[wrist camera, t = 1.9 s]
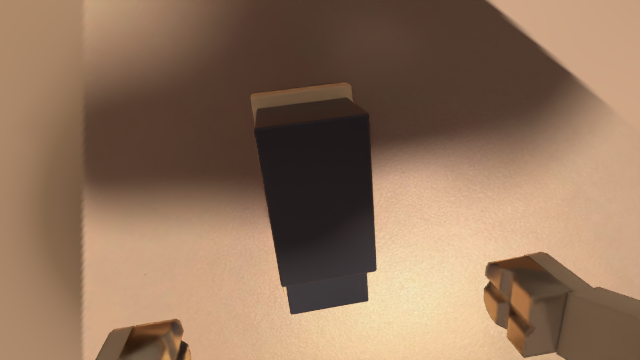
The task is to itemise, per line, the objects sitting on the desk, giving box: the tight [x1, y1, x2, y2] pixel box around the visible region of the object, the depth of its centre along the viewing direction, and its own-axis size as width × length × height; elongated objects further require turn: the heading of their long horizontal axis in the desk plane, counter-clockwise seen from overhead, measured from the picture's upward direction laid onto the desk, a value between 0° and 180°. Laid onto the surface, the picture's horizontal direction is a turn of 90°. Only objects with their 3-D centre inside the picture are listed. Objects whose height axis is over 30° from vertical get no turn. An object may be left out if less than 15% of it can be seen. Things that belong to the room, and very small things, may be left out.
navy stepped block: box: [250, 82, 377, 314], centre depth 17 cm, size 11×5×5 cm, turn 6°
